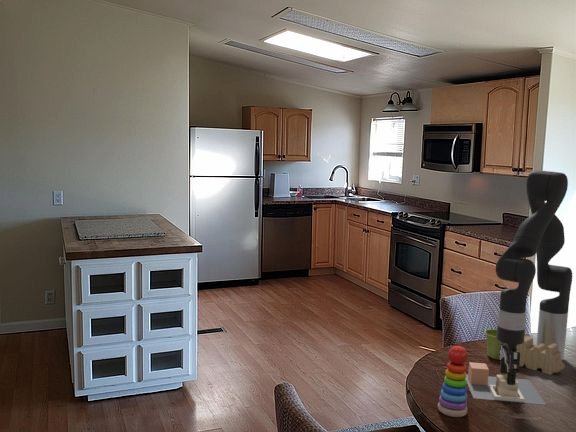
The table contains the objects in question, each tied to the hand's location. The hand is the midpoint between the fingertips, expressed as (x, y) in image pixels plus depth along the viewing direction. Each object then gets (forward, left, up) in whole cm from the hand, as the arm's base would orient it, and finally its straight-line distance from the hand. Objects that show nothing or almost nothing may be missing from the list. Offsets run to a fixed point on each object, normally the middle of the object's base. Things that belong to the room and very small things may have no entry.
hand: (507, 378), depth 163 cm
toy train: (-25, +15, -6) cm, 30 cm away
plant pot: (-35, +5, -6) cm, 36 cm away
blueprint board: (-4, 0, -6) cm, 7 cm away
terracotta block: (-8, -7, -5) cm, 12 cm away
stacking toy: (+13, -17, -6) cm, 22 cm away
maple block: (0, 0, -5) cm, 5 cm away
